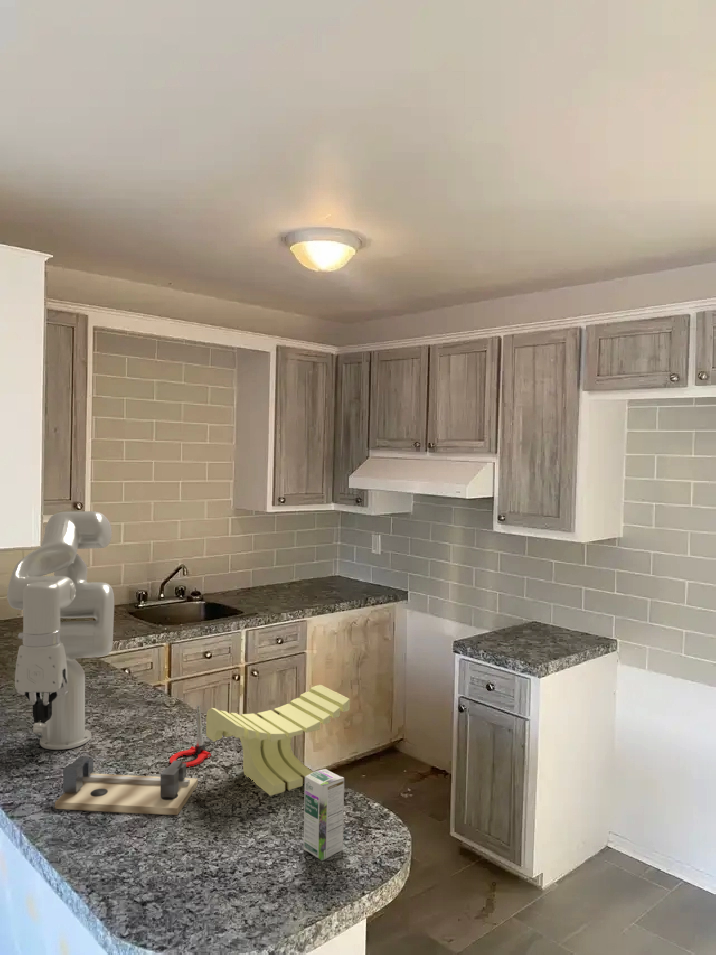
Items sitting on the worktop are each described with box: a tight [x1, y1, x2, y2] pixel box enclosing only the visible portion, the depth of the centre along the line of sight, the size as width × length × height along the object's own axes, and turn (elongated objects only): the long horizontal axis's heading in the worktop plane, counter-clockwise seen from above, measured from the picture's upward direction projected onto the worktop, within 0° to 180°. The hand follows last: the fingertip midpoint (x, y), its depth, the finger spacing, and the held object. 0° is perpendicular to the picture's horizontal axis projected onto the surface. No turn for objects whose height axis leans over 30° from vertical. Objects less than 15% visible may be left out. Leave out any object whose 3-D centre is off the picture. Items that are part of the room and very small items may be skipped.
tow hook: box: [169, 704, 212, 768], centre depth 179 cm, size 8×13×9 cm
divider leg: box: [62, 755, 94, 793], centre depth 161 cm, size 3×8×5 cm, turn 175°
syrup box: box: [303, 768, 345, 862], centre depth 139 cm, size 6×6×14 cm
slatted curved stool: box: [205, 684, 351, 797], centre depth 171 cm, size 30×16×18 cm, turn 126°
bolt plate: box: [54, 760, 199, 816], centre depth 160 cm, size 27×14×7 cm, turn 85°
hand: (42, 720), depth 159 cm, fingers closed
